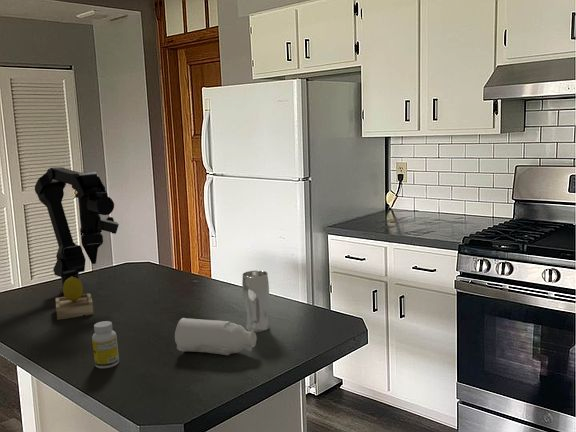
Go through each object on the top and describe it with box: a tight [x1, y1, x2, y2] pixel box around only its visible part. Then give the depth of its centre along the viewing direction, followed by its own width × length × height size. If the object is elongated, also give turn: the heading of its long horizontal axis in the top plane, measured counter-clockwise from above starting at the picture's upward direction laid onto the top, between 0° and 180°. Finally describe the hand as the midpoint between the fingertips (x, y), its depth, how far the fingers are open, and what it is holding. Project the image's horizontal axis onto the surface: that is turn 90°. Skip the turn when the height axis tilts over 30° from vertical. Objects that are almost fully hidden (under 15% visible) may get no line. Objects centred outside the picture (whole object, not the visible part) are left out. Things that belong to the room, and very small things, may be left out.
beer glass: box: [241, 270, 270, 333], centre depth 150 cm, size 7×7×15 cm
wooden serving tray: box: [55, 292, 95, 320], centre depth 171 cm, size 10×10×4 cm
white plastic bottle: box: [174, 317, 257, 356], centre depth 135 cm, size 8×19×8 cm, turn 72°
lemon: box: [63, 276, 84, 302], centre depth 170 cm, size 6×6×8 cm
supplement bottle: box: [91, 320, 120, 369], centre depth 131 cm, size 5×5×10 cm
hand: (93, 260), depth 181 cm, fingers open, 9 cm apart
